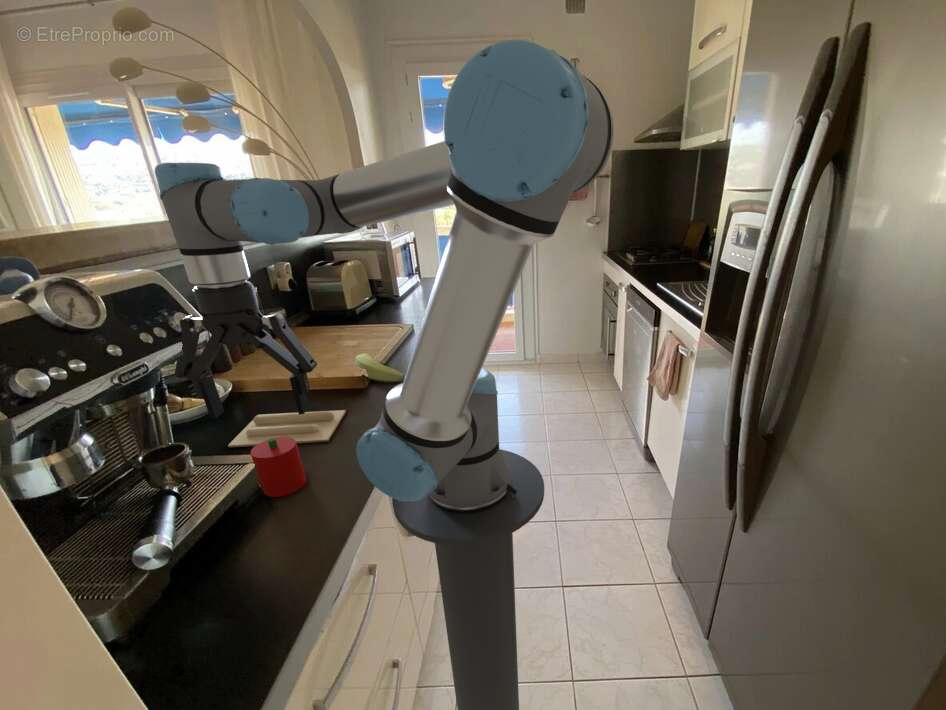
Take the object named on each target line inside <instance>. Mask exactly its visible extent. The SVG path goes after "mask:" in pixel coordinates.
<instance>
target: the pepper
mask: <svg viewBox="0 0 946 710" xmlns="http://www.w3.org/2000/svg"><path fill="white" fill-rule="evenodd" d="M252 447H253V448H251V450H250V456H251V460H252V463H253V465H254V464H255V465H254V467H256V468H255V472H256V475H257V477H258V481H259V483H260V486H261V490H262V492H263V494H264V495H265V496H267V497H271V498H279V497H280V498H281V497H285V496H288V495H292V494H293V493H296V492H298V491H299V490H301V489H302V488H303V487H304V486H305V485H306V483H307V476H306V472H305V469H304V465H303V462H302V458H301V454H300V451H299V447H298V443H296V440H295V439H293V438H290V437H277V438H272V439H269V440H266V441H263V442H261V443H259V444H257V445H256V446H252Z"/></svg>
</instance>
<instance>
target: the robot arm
mask: <svg viewBox="0 0 946 710" xmlns="http://www.w3.org/2000/svg"><path fill="white" fill-rule="evenodd" d="M442 118H443V119H442V131H443V132H442V133H443V139H444V140H443V141H440V142H437V143H434V144H430V145H428V146H424V147H420V148H418V149H415V150H411V151H407V152H405V153H402V154H399V155H395V156H393V157H389V158H386V159H385V158H384V159H383V160H378V161H376V162H373V163H370V164H366V165H364V166H360V167H357V168H353V169H350V170H347V171H344V172H340V173H339V174H335V175H331V176H328V177H325V178H322V179H305V180H304V179H303V180H301V179H273V178H270V177H269V178H268V177H261V178H260V177H252V178H242V179H241V178H240V179H239V178H238V179H226V178H225V176H224V173H223V170H222V169H221V167H220V166H219V165H217V164H215V163H207V162H160V163H158V164H156V165H155V167H154V175H155V179H156V183H157V186H158V190H159V199H160V200H161V202H162V205H163V208H164V210H165V214H166V216H167V219H168V222H169V224H170V228H171V230H172V234H173V236H174V240H175V242H176V246H177V248H178V250H179V252H180V257H181V260H182V264H183V266H184V270H185V272H186V276H187V279H188V283H190V284H192V285H195V286H193V288H192V289H191V290H192V294H193V297H194V300H195V303H196V305H197V308H198V311H199V312H200V313H201V317H197V316H196V315H195V314H190V315H188V316H185V317H183V318H181V319H180V320H179V326H180V330H181V337H180V343H181V342H182V344H183V345H182V346H183V347H182V350H183V353H184V355H183V356H181V357H179V358H178V357H177V359H176V364H175V369H174V376H175V377H176V378H177V379H182V378H184V379H187V380H190V381H191V382H192V384H193V388H194V390H195V393H196V396H197V397H198V398H199V399H200V400H201V399H203V401H204V403H205V406H206V409H207V412H208V415H209V418H210V420H216V419H218V418H219V417H220V416H221V415H222V414H223V413H224V412H225V409H224V406H223V403H222V400H221V397H220V394H219V391H218V387H217V386H216V382H215V379H214V377H213V375H212V374H208V372H209V369H210V368H211V366H212V364H213V362H214V361H215V359H216V358H217V356H218V354H219V352H220V351H221V350H222V348H223V346H226V347H234V346H241V347H247V346H250V345H252V346H254V347H255V348H257V349H259V350H262V351H263V352H264V353H266V354H267V355H268V356H269V357H270V358H272V359H274V361H276V362H277V363H278V364H280V366H282V367H283V368H284V369H286V370H287V371H288V372H290V373H291V374H292V375H290V377H289V382H290V386H291V388H292V393H293V394H292V395H293V398H294V401H295V405H296V408H297V413H299V414H304V413H305V412H307V410H308V409H309V408H310V405H309V404H310V403H309V400H308V397H307V394H308V393H309V391H310V390H311V389H310V388H311V386H310V381H309V377H308V373H312V371H313V370H315V368H316V367H317V366H318V362H317V361H316V360H315V358H314V356H312V355H311V353H310V352H309V350H308V349H307V348H306V347H305V346H304V344H303V343H302V342H301V341H300V340H299V338H298V337H297V335H296V334H295V333H294V332H293V331H292V329H291V328H290V327H289V326H288V323H287V321H286V318H285V315H284V313H282V312H281V311H278V312H275V313H274V314H270V315H263V314H262V313H261V311H260V309H259V301H258V297H257V293H256V290H255V287H254V284H253V283H252V282H251V281H249V279H250V278H251V272H250V268H249V265H248V262H247V261H248V260H247V258H246V255H245V251H244V245H243V243H242V242H245V243H247V242H248V243H262V244H265V245H271V246H273V245H276V244H290V243H291V244H292V243H295V242H296V241H298V240H300V239H302V238H310V237H314V236H325V235H335V234H339V235H340V234H341V235H342V234H349V233H353V232H355V231H360V230H361V229H362V228H364V227H368V226H372V225H376V224H379V223H380V224H381V223H385V222H389V221H393V220H396V219H401V218H406V217H409V216H413V215H418V214H422V213H427V212H430V211H435V210H438V209H439V210H440V209H444V208H447V207H448V208H449V207H452V206H454V208H455V214H454V217H453V221H452V224H451V228H450V231H449V234H448V237H447V240H446V243H445V247H444V250H443V253H442V257H441V260H440V263H439V266H438V269H437V273H436V276H435V279H434V282H433V286H432V288H431V292H430V296H429V298H428V302H427V306H426V308H425V311H424V315H423V318H422V322H421V325H420V328H419V331H418V334H417V338H416V340H415V344H414V347H413V350H412V354H411V357H410V360H409V364H408V367H407V370H406V372H405V375H404V379H403V383H400V384H397V385H396V386H394V387H393V388H392V389H390V390H389V392H388V394H387V395H386V398H385V401H384V405H383V408H382V410H381V414H380V418H379V421H378V422H377V424H376V425H375V426H374V427H373V428H369V429H367V430H366V431H365V432H364V434H363V435H362V436H361V437H360V438H359V440H358V441H357V443H356V447H355V454H356V460H357V462H358V465H359V468H360V469H361V471H362V472H363V473H364V475H365V477H366V478H367V480H368V481H369V482H370V483H371V484H372V485H373V487H375V488H376V489H378V490H379V491H380V492H381V493H382V494H384V495H386V496H388V497H390V498H391V499H392V498H394V499H396V500H399V501H404V502H407V501H410V502H415V501H418V500H421V499H423V498H424V497H425V496H426V495H428V497H429V499H430V501H431V502H432V503H433V504H434V505H435V506H437V507H438V508H440V509H442V510H445V511H448V512H453V513H474V512H479V511H483V510H486V509H489V508H491V507H493V506H495V505H497V504H498V503H500V502H501V501H502V500H503V499H504V498H505V497H506V496H507V495H508V493H509V491H510V492H511V493H513V494H514V495H515V494H516V493H517V490H515V489H514V488H513V487H512V486H511V477H510V472H509V469H508V467H507V465H506V462H505V460H504V458H503V456H502V453H501V451H500V449H501V448H500V435H499V434H500V433H499V409H498V408H499V407H498V394H499V393H498V390H497V383H496V382H497V381H496V378H495V376H494V374H493V373H492V372H490V371H489V370H488V369H485V368H484V364H485V362H486V360H487V357H488V355H489V353H490V350H491V348H492V346H493V343H494V341H495V338H496V335H498V334H497V333H498V331H499V328H500V326H501V324H502V322H503V319H504V316H505V314H506V312H507V310H508V307H509V304H510V303H511V299H512V298H513V295H514V293H515V290H516V288H517V285H518V284H519V280H520V279H521V276H522V273H523V271H524V269H525V266H526V264H527V261H528V259H529V257H530V254H531V251H532V250H533V247H534V246H535V244H537V243H540V242H542V241H545V240H546V239H549V238H552V237H554V235H555V233H556V230H557V228H558V225H559V223H560V221H561V219H562V217H563V214H564V212H565V211H566V208H567V206H568V204H569V201H570V199H571V197H572V194H575V193H577V192H580V191H582V190H583V189H585V188H587V187H588V186H590V185H591V184H592V183H593V182H594V181H595V180H596V179H597V178H598V177H599V176H600V174H601V173H602V172H603V170H604V168H605V166H606V165H607V163H608V161H609V158H610V156H611V153H612V149H613V143H614V138H615V137H614V135H615V126H614V125H615V124H614V118H613V114H612V109H611V106H610V105H609V103H608V101H607V99H606V97H605V95H604V93H603V92H602V91H601V90H600V88H599V87H598V86H597V85H596V84H595V83H594V82H593V81H591V80H590V79H589V78H588V77H586V76H585V75H583V74H582V73H581V71H579V69H577V68H576V67H575V66H574V65H573V64H572V62H571V61H569V59H567V58H565V57H564V56H562V55H560V54H559V53H558V52H557V51H556V50H555V49H549V48H546V47H544V46H543V45H540V44H538V43H535V42H533V41H530V40H529V41H528V40H525V39H508V40H501V41H498V42H494V43H492V44H491V45H488V46H487V47H486V48H483V49H482V50H480V51H478V52H476V53H475V54H474V55H473V56H472V57H470V59H468V61H466V63H465V64H464V65H463V66H462V67H461V69H460V70H459V72H458V73H457V75H456V76H455V78H454V81H453V82H452V85H451V87H450V89H449V92H448V95H447V98H446V101H445V105H444V111H443V117H442ZM265 325H266V326H267V327H268V329H270V330H272V331H273V333H274V335H275V336H276V337H277V338H278V340H279V341H280V343H282V344H283V345H284V347H285V348H284V347H283V346H282V345H281V344H279V343H278V342H277V341H276V340H275V339H273V336H272V335H271V334H270V333H268V332H267V331H266V330H265V329H264V327H265ZM203 328H204V329H205V330H206V331H207V332H208V333H209V334H210V337H209V338H208V340H207V342H206V344H205V347H204V349H203V350H202V352H201V354H200V356H199V358H198V359H197V361H196V363H195V359H196V355H197V349H198V344H199V340H200V336H201V335H200V334H201V331H202V330H203ZM194 363H195V365H194Z"/></svg>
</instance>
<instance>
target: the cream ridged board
mask: <svg viewBox="0 0 946 710" xmlns="http://www.w3.org/2000/svg"><path fill="white" fill-rule="evenodd" d="M346 413H347V410H346V409H339V410H337V409H336V410H320V411H319V410H318V411H306V412H305V413H304V414H299V413H298V412H284V413H283V412H281V413H280V412H279V413H266V414H265V413H263V414H257V415H255V416H254V417H253V419H252V420H251V421H250V422H249V423H248V424H247V425H246V426H245V427H244V428H243V429H242V430H241V431H240V432H239V433H238V434H237V435H236V436H235V437H234V439H233V440H231V442H230V443H229V444H228V445H227V447H228V448H240V447H242V448H243V447H255V446H256V445H257V444H259V443H261V442H263V441H266V440H269V439H272V438H277V437H290V438H293V439H295V440H296V443H297V444H309V443H310V444H311V443H326V442H329V441H330V439H331V438H332V436H333V434H334V433H335V431H336V430H337V428H338V426H339V424H340V423H341V421H342V419H343V418H344V416H345V414H346Z"/></svg>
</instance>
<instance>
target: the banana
mask: <svg viewBox="0 0 946 710" xmlns="http://www.w3.org/2000/svg"><path fill="white" fill-rule="evenodd" d="M371 357H372V356H371V355H370V354H368V353H366V352H365V353H360V354H358V355H356V357H355V358H354V365H355V364H356V366H358V367H360V368H363V369H366V371H367V374H368V378H367V379H369V380H371V381H375V382H379V383H399V382H402V381H403V382H404V380H405V375H404V374H403V373H401V372H400V371H399V370H396V369H394V368H392V367H389V366H386V365H384V364H382V363H380V362H376V361H374V360H372V358H373V357H372V358H371Z"/></svg>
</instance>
